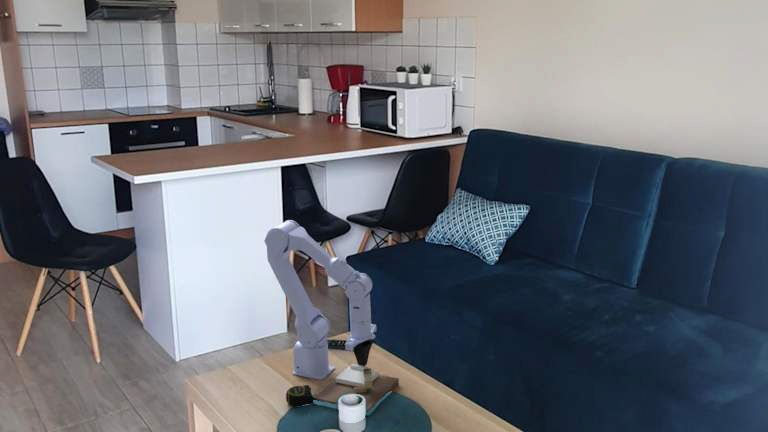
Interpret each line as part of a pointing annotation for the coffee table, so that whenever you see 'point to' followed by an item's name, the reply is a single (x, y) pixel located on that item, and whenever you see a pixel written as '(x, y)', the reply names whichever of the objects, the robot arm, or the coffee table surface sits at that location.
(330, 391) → the lock board
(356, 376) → the lid
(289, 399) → the tape measure
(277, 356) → the coffee table surface
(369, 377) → the t-key
